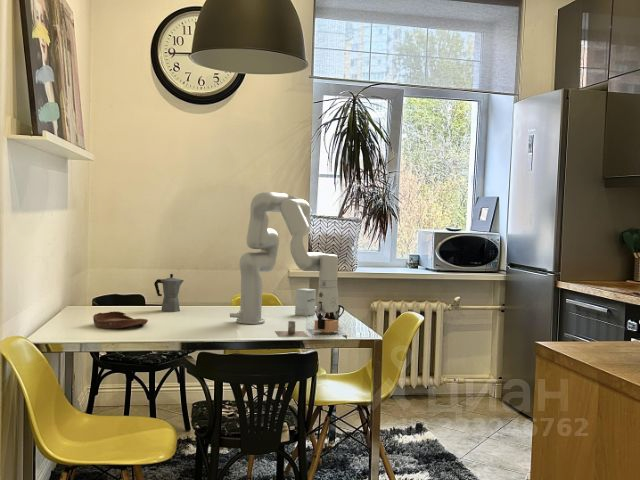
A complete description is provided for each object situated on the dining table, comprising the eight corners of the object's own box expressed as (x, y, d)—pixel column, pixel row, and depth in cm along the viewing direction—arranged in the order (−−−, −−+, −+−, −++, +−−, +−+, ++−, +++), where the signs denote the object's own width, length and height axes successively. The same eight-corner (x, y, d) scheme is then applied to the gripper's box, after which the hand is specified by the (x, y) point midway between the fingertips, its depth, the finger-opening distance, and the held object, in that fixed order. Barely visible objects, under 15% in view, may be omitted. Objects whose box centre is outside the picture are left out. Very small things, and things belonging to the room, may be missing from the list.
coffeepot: (178, 308, 334) (179, 272, 333) (187, 311, 326) (188, 274, 326) (149, 310, 324) (150, 273, 323) (158, 313, 317) (159, 275, 316)
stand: (278, 340, 259) (278, 323, 259) (274, 334, 271) (275, 318, 270) (308, 340, 261) (309, 323, 261) (303, 334, 273) (304, 319, 273)
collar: (328, 332, 268) (329, 322, 268) (314, 329, 272) (314, 320, 272) (338, 330, 274) (338, 320, 274) (323, 327, 278) (324, 318, 277)
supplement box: (306, 316, 324) (307, 290, 323) (294, 314, 328) (295, 288, 328) (315, 314, 330) (316, 289, 329) (303, 313, 334) (304, 287, 334)
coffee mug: (323, 328, 291) (324, 305, 291) (318, 324, 299) (319, 302, 299) (348, 327, 294) (349, 305, 294) (342, 324, 303) (343, 302, 302)
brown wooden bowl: (157, 325, 283) (157, 314, 283) (128, 333, 264) (129, 320, 264) (113, 321, 291) (113, 309, 291) (82, 327, 272) (82, 315, 272)
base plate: (312, 338, 265) (312, 326, 264) (306, 332, 278) (306, 320, 278) (346, 338, 267) (347, 326, 267) (339, 332, 281) (339, 320, 281)
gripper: (323, 286, 263) (322, 331, 263) (347, 283, 277) (345, 326, 278) (308, 285, 267) (306, 329, 268) (331, 282, 281) (330, 324, 282)
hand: (326, 327), depth 273 cm, fingers closed on collar, 6 cm apart
